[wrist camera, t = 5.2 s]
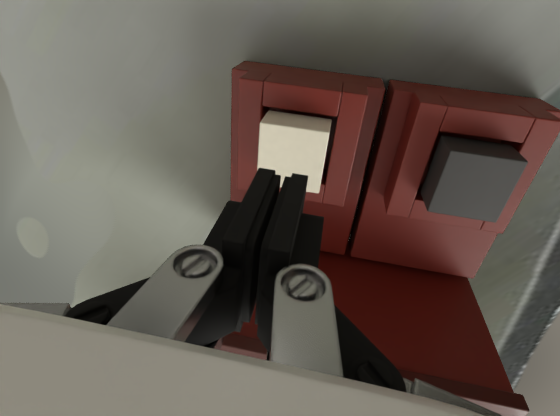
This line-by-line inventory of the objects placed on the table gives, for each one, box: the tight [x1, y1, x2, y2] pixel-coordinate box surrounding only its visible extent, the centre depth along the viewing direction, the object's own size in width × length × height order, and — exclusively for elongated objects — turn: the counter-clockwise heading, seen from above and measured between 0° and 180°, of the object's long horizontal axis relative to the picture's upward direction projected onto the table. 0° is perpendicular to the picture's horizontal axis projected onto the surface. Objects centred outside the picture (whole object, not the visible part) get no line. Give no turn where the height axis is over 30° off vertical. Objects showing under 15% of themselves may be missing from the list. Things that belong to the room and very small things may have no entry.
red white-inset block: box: [231, 61, 385, 255], centre depth 21 cm, size 11×8×4 cm
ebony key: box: [421, 135, 528, 223], centre depth 16 cm, size 3×3×2 cm
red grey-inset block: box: [351, 80, 560, 278], centre depth 20 cm, size 11×8×4 cm
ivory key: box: [257, 110, 332, 193], centre depth 17 cm, size 3×3×2 cm
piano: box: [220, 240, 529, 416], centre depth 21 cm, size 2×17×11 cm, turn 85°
